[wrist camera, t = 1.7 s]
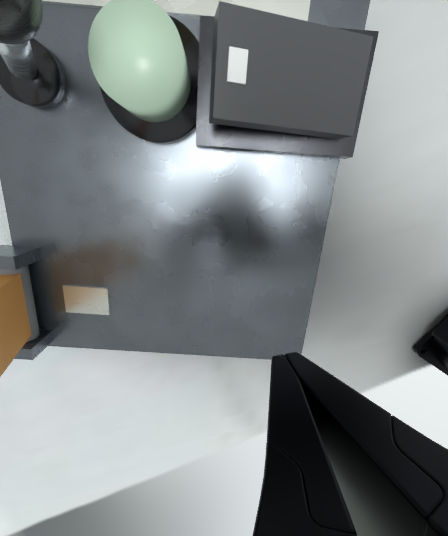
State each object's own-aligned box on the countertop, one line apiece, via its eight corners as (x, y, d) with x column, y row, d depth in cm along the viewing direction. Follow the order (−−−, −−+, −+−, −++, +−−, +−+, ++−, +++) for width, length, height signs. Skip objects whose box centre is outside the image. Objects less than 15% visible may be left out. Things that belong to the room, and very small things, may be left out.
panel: (363, 7, 14) (408, -51, 11) (298, 349, 21) (313, 382, 18) (-29, -29, 14) (-115, -102, 10) (35, 333, 21) (-4, 363, 17)
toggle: (47, 42, 13) (32, -82, 6) (54, 99, 14) (46, 37, 7) (-17, 25, 12) (-114, -149, 5) (-6, 88, 12) (-79, 2, 6)
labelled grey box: (355, 48, 13) (375, 35, 12) (338, 139, 14) (354, 135, 13) (213, 18, 11) (219, -1, 10) (208, 123, 12) (213, 117, 11)
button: (192, 35, 12) (184, -1, 10) (189, 125, 13) (182, 113, 11) (111, 27, 12) (83, -10, 10) (115, 119, 13) (92, 105, 11)
